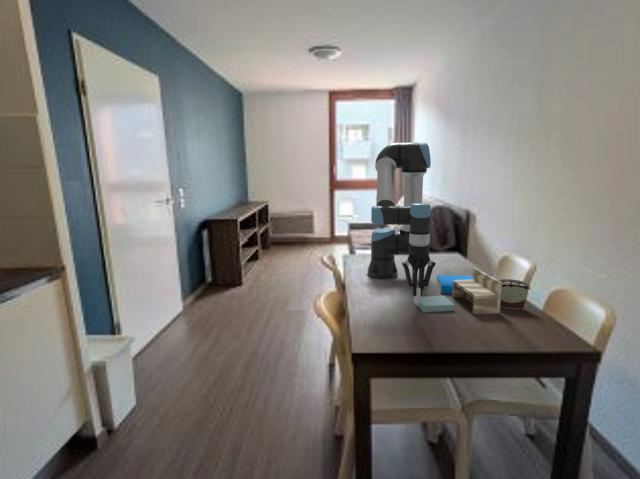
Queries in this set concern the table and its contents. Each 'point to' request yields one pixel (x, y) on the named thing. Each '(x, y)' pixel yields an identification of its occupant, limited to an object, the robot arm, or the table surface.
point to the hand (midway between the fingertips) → (417, 303)
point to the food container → (513, 294)
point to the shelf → (479, 292)
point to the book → (449, 282)
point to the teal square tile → (435, 304)
